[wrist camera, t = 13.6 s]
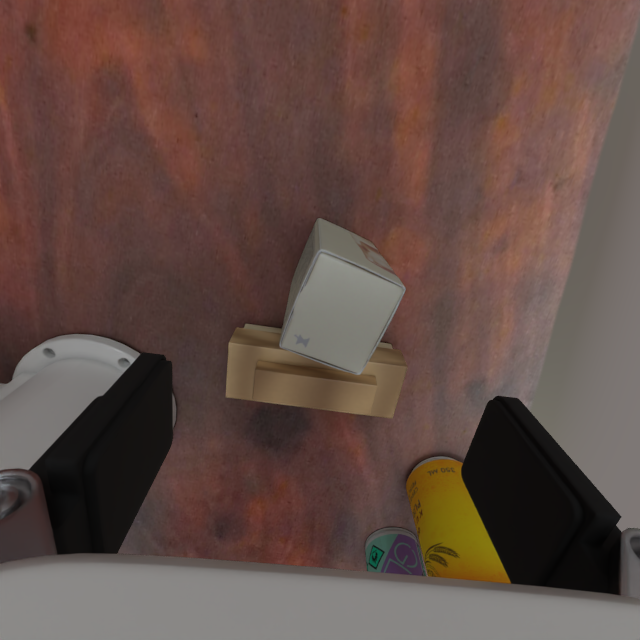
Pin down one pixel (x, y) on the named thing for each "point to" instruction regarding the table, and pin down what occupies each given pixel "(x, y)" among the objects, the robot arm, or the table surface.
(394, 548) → the spray can
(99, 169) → the table surface
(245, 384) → the tan rectangular block
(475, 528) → the beer can
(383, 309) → the white box
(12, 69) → the table surface
